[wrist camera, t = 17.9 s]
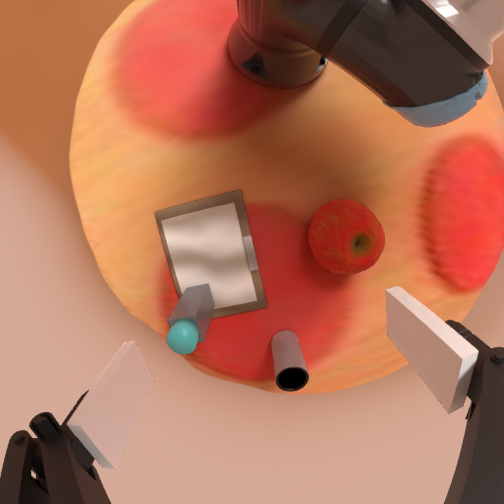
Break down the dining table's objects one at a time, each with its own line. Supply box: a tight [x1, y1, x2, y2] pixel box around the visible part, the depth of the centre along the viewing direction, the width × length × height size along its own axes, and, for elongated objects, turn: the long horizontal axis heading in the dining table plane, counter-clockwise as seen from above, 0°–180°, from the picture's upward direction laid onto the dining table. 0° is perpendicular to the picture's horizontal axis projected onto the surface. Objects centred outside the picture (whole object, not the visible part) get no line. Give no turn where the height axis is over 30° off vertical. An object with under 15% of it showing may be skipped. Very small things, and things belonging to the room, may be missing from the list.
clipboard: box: [155, 190, 267, 318], centre depth 42 cm, size 18×13×1 cm
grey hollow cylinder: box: [271, 330, 309, 391], centre depth 41 cm, size 4×4×10 cm
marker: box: [167, 283, 215, 354], centre depth 36 cm, size 4×4×14 cm
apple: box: [308, 199, 385, 275], centre depth 36 cm, size 10×10×10 cm
